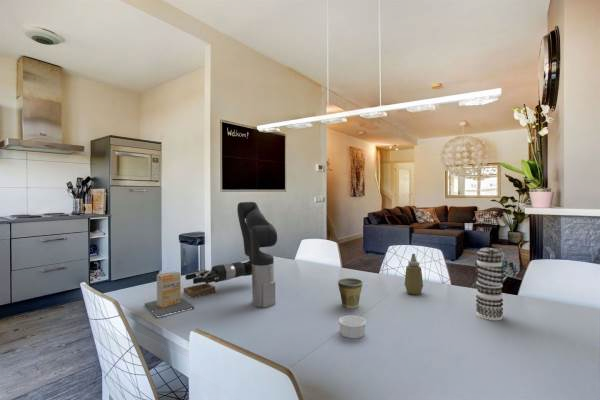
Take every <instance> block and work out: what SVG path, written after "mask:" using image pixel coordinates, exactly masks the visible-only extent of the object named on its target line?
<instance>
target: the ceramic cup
mask: <svg viewBox="0 0 600 400" xmlns="http://www.w3.org/2000/svg"><path fill="white" fill-rule="evenodd" d="M337 284H338V290H339V293H340V299H341V304H342V307H344V308H346V309H353V310H354V309H356V308H358V307H359V303H360V298H361V293H362V288H363V281H362V279H359V278H353V277H352V278H350V277H348V278H347V277H346V278H341V279H338V281H337Z"/></svg>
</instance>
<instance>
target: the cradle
mask: <svg viewBox="0 0 600 400" xmlns="http://www.w3.org/2000/svg"><path fill="white" fill-rule="evenodd" d="M184 293H185V294H184ZM208 293H209V294H212V293H213V294H214V293H216V286H214V285H212V284H210V283H206V282H205V283H199V284H196V285H192V286H187V287H183V294H184V295H186V294H187V295H188V296H187V295H186V296H187V297H189V296H190V297H193V298H196V297H195V296H197V297H200V296H199V295H201V296H204V295H203V294H205V295H208ZM190 297H189V298H190Z"/></svg>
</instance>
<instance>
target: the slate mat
mask: <svg viewBox="0 0 600 400" xmlns="http://www.w3.org/2000/svg"><path fill="white" fill-rule="evenodd" d="M145 305H146V306H147V307H148V308H149V309H150V310H151V311H153V313H155V314H156V315H157V316H162V315H165V314H169V313H174V312H178V311H182V310H187V309H190V308H194V309H195V305H193V304H192V303H190V302H188V301H187V300H186V299H184V298H183V297H181V303H178V304H174V305H171V306H168V307H165V308H161V307H159V306H157V300H153V301H149V302H145V303H144V306H145ZM146 306H145V307H146ZM147 307H146V308H147ZM148 308H147V309H148ZM149 309H148V310H149ZM150 310H149V311H150ZM151 311H150V312H151ZM187 311H188V310H187ZM153 313H152V314H153Z"/></svg>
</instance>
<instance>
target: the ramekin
mask: <svg viewBox="0 0 600 400" xmlns="http://www.w3.org/2000/svg"><path fill="white" fill-rule="evenodd" d="M366 323H367V321H366V319H364V318H363V317H361V316H357V315H343V316H341V317H340V318H339V319H338V324H339V332H340V334H341V335H342V336H343V337H345V338H347V339H360V338H363V337H364V336H365V333H366Z"/></svg>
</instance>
